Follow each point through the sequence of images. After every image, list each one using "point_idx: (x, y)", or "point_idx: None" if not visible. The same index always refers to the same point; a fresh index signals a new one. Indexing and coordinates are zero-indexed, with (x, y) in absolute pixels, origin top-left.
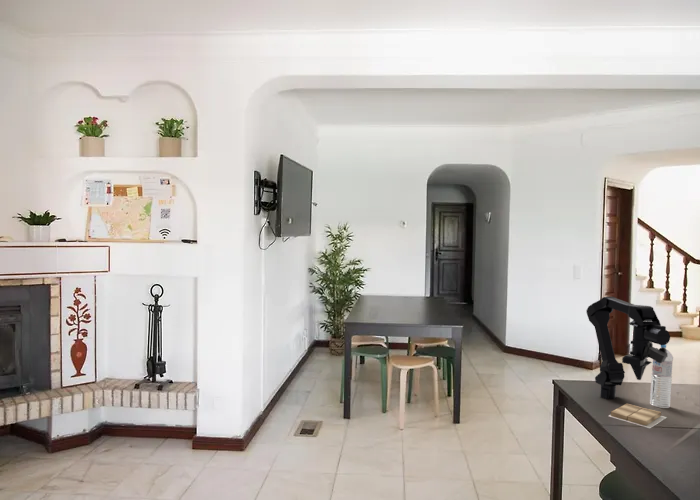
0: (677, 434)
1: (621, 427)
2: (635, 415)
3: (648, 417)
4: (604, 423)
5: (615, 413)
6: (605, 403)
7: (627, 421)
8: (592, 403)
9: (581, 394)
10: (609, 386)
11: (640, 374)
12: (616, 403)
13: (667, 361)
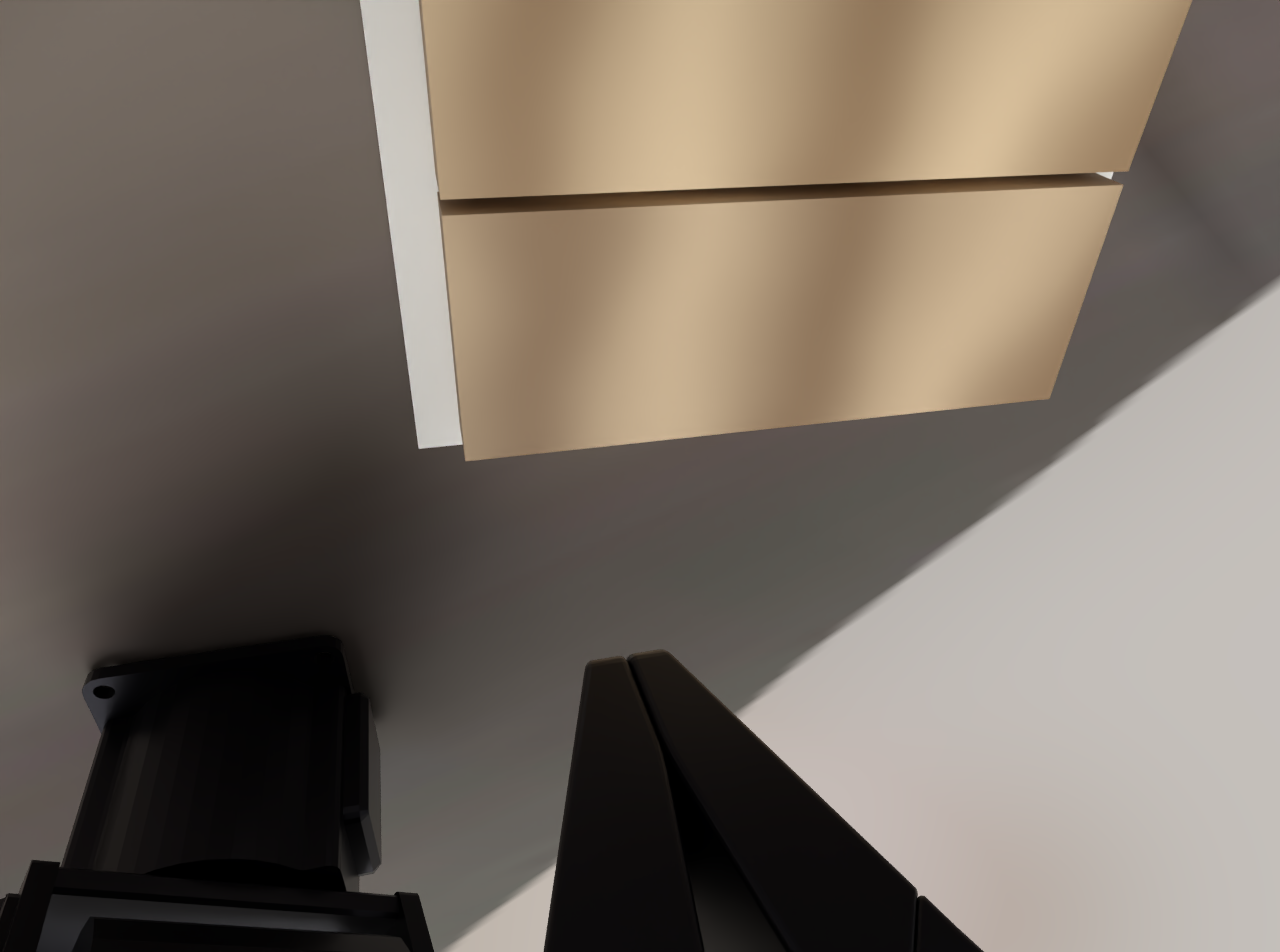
0: None
1: (1249, 128)
2: (1012, 110)
3: None
4: (1204, 314)
5: (1063, 340)
6: (458, 645)
7: None
8: None
9: (398, 875)
10: (334, 863)
11: (825, 820)
12: (307, 595)
13: None
